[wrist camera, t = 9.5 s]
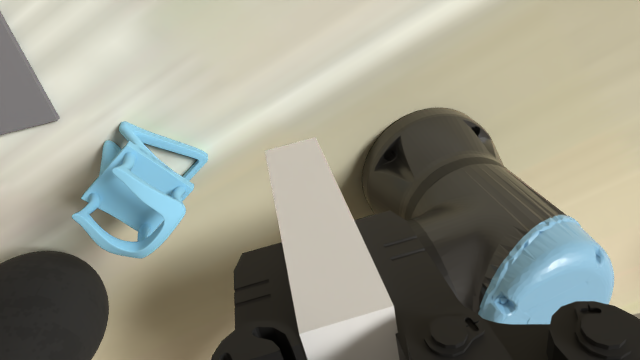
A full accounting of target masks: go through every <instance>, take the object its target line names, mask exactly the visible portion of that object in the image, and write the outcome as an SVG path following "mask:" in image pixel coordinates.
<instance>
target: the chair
mask: <svg viewBox="0 0 640 360" xmlns="http://www.w3.org/2000/svg"><path fill="white" fill-rule="evenodd" d="M119 131H120V133H121V134H122V135H123V136H124V137H125V138H126V139H127V141H128V143H127V144H126V145H125V146H124V148H123V149H121V148H120V147H119V146H118V145H117V144H115V143H114V142H112V141H110V140H108V141H105V143H104V146H103V152H102V160H101V167H100V173H99V177H98V178H97V179H96V180H95V181H94V182H93V183H92V185H91V186H90V187H89V188H88V189H87V190H86V192H85V193H84V194H83V196H82V197H81V199H83V200H84V201H86V202H88V204H87V206H86V207H84V208H83V209H82V210H81V211H79V212H77V213H75V214H73V215H72V218H73V219H74V220H75V221H76V222H77V223H79V224H80V225H81V226H82V227H83V228H84V230H85V231H86V232H87V233H88V235H89V236H90V237H91V238H92V239H93V240H94V241H95V243H96V244H97V245H99V246H100V247H101V248H102V249H104V250H106V251H108V252H110V253H113V254H117V255H121V256H127V257H133V258H144V257H146V256H148V255H149V254H151V253H152V252H153V251H155V250H156V249H157V248H158V247H159V246H160V245H161V244H162V243H163V242H164V241H165V240H166V239H167V238H168V236H169V235H170V234H171V233H172V231H173V230H174V229H175V228H176V226H177V225H178V224H179V222H180V221H181V220H182V218H183V217H184V215H185V212H186V208H185V206H184V204H183V202H182V201H183V200H184V199H185V198H186V197H187V196H188V195H189V194H190V193H191V192H192V190H193V189H194V184H192V183H191V182H189V180H190V179H191V178H192V177H193V176H194V175H195V174H196V173H197V172H198V171H199V170H200V169H201V168H202V166H203V165H204V164H205V163H206V162H207V160H208V155H207V153H205V152H204V151H202V150H199V149H197V148H195V147H192V146H189V145H186V144H183V143H181V142H178V141H175V140H172V139H169V138H166V137H163V136H160V135H157V134H154V133H152V132H149V131H146V130H144V129H141V128H139V127H137V126H134V125H132V124H130V123H128V122H122V123H121V124H120V127H119ZM143 143H145V144H148V145H152V146H155V147H158V148H161V149H165V150H168V151H172V152H175V153H178V154H182V155H185V156H189V157H192V158H195V159H198V160H197V161H196V162H195V163H194V165H193V166H192V167H191V168H190V169H189V170H188V171H187V172H186V173H185V174H184V175H183V176H180V175H179V174H177V173H175V172H174V171H173V170H172V169H170V168H169V167H168V166H166V165H165V164H164V163H163V162H161V161H160V160H159V159H158V158H157V157H156V156H155V155H154V154H153V153H152V152H151V151H150V150H149V149H148V148H147V147H146V146H145V145H144V144H143ZM97 208H99V209H100V210H102V211H104V212H106V213H108V214H110V215H112V216H113V217H115V218H117V219H119V220H120V221H122V222H124V223H125V224H127V225H128V226H130V227H132V228H133V229H135V230H136V231H138V241H137V242H129V241H123V240H120V239H117V238H115V237H113V236H111V235H110V234H108V233H107V232H106V231H104V230H103V229H102V228H101V227H100V226H99V225H98V224H97V223H96V222H95V221H94V220H93V218H92V217H91V216H90V215H89V214H91V213H92V212H93V211H95V210H96V209H97ZM160 224H161V225H160ZM159 225H160V226H159ZM158 226H159V227H158ZM157 227H158V228H157ZM156 228H157V229H156Z"/></svg>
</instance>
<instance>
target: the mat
mask: <svg viewBox="0 0 640 360" xmlns="http://www.w3.org/2000/svg"><path fill="white" fill-rule="evenodd" d="M58 119H59V116H58V114H57V112H56V111H55V109H54V107H53V105H52V103H51V102H50V100H49V98H48V96H47V94H46V93H45V91H44V89H43V87H42V85H41V84H40V82H39V80H38V78H37V76H36V75H35V73H34V71H33V69H32V67H31V66H30V64H29V62H28V60H27V58H26V57H25V55H24V53H23V51H22V50H21V48H20V46H19V44H18V42H17V41H16V39H15V37H14V35H13V33H12V32H11V30H10V28H9V26H8V24H7V23H6V21H5V19H4V17H3V15H2V14H1V12H0V135H2V134H6V133H10V132H14V131H18V130H22V129H26V128H30V127H34V126H38V125H42V124H45V123H49V122H53V121H57V120H58Z"/></svg>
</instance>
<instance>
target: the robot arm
mask: <svg viewBox="0 0 640 360" xmlns="http://www.w3.org/2000/svg"><path fill="white" fill-rule="evenodd" d="M265 155H266V160H267V165H268V171H269V176H270V181H271V187H272V192H273V197H274V203H275V208H276V213H277V219H278V224H279V229H280V235H281V240H282V242H281V243H278V244H274V245H271V246H267V247H264V248H260V249H257V250H253V251H249V252H246V253H242V255H241V257H240V259H239V262H238V264H237V266H236V268H235V270H234V290H235V293H234V299H235V330H234V331H233V332H232V333H231V334H230V335H229V336H227V337H226V338H225V339H224V340H223V341H222V342H221V343H220V345H219V346H218V348H217V349H216V351H215V352H214V354H213V355H212V359H211V360H640V319H638V318H637V317H635V316H634V315H632V314H630V313H628V312H626V311H624V310H622V309H620V308H618V307H616V306H613V305H608V304H609V302H610V299H611V295H612V291H613V286H614V272H613V267H612V263H611V261H610V258H609V256H608V255H607V253H606V252H605V250H604V249H603V248H602V247H601V246H600V245H599V244H598V243H597V242H596V241H595V240H594V239H593V238H592V237H591V236H589V235H588V234H587V233H586V232H585V231H584V230H583V229H582V228H581V226H580V224H579V223H578V222H577V221H576V220H575V219H573V218H571V217H570V216H567V215H566V214H564V213H563V212H562V211H560V210H559V209H558V208H557V207H555V206H554V205H553V204H551V203H550V202H549V201H548V200H546V199H545V198H544V197H542V196H541V195H540V194H539V193H537V192H536V191H535V190H533V189H532V188H531V187H530V186H528V185H527V184H526V183H524V182H523V181H522V180H521V179H519V178H518V177H517V176H516V175H514V174H513V173H512V172H510V171H509V170H508V169H507V168H505V167H504V165H503V163H502V161H501V159H500V157H499V154H498V152H497V150H496V148H495V146H494V143H493V141H492V139H491V137H490V136H489V134H488V133H487V132H486V131H485V129H484V128H483V127H482V126H481V125H479V124H478V123H477V122H475V121H474V120H473V119H471V118H470V117H468V116H467V115H465V114H463V113H461V112H459V111H456V110H453V109H448V108H429V109H424V110H420V111H417V112H414V113H411V114H409V115H407V116H405V117H403V118H401V119H400V120H398V121H396V122H395V123H394V124H392V125H391V126H390V127H389V128H387V129H386V130H385V131H384V132H383V133H382V134H381V135H380V137H379V138H378V139H377V140H376V142H375V143H374V145H373V146H372V148H371V150H370V151H369V153H368V156H367V158H366V161H365V164H364V168H363V175H362V184H363V190H364V194H365V197H366V199H367V201H368V203H369V205H370V207H371V208H372V210H373V212H374V213H375V215H372V216H368V217H365V218H361V219H358V220H354V219H353V217H352V214H351V212H350V210H349V208H348V206H347V204H346V202H345V199H344V197H343V195H342V193H341V191H340V189H339V186H338V184H337V182H336V180H335V178H334V176H333V173H332V171H331V169H330V167H329V165H328V163H327V160H326V158H325V156H324V154H323V152H322V150H321V147H320V145H319V143H318V141H317V139H316V137H314V138H310V139H306V140H303V141H299V142H295V143H291V144H288V145H284V146H280V147H276V148H273V149H269V150H265Z"/></svg>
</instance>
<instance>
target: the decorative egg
mask: <svg viewBox="0 0 640 360" xmlns="http://www.w3.org/2000/svg"><path fill="white" fill-rule="evenodd" d="M108 314H109V305H108V296H107V292H106V289H105V286H104V284H103V282H102V280H101V278H100V276H99V275H98V274H97V272H96V271H95V270H94V269H93V268H92V267H91V266H90V265H89V264H87V263H86V262H84V261H83V260H81V259H79V258H77V257H75V256H73V255H70V254H66V253H62V252H54V251H41V252H33V253H28V254H24V255H20V256H17V257H15V258H12V259H10V260H7V261H5V262H3V263H1V264H0V360H91V359H92V358H93V356H94V354H95V353H96V351H97V349H98V347H99V345H100V343H101V341H102V339H103V336H104V333H105V330H106V326H107V321H108Z"/></svg>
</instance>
